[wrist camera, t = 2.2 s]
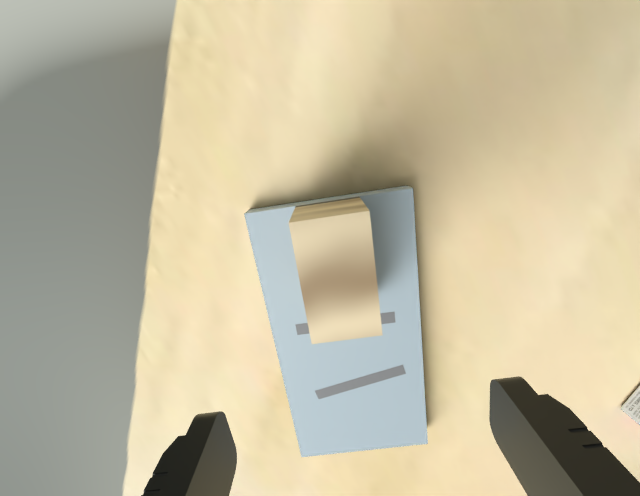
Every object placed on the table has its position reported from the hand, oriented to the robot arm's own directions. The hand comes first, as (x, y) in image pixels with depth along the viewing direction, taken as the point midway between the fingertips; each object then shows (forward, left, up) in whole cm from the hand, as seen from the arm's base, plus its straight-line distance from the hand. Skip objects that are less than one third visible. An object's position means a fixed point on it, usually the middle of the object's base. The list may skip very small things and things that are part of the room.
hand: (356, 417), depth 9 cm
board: (+8, 0, -16) cm, 18 cm away
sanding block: (0, 0, -14) cm, 14 cm away
